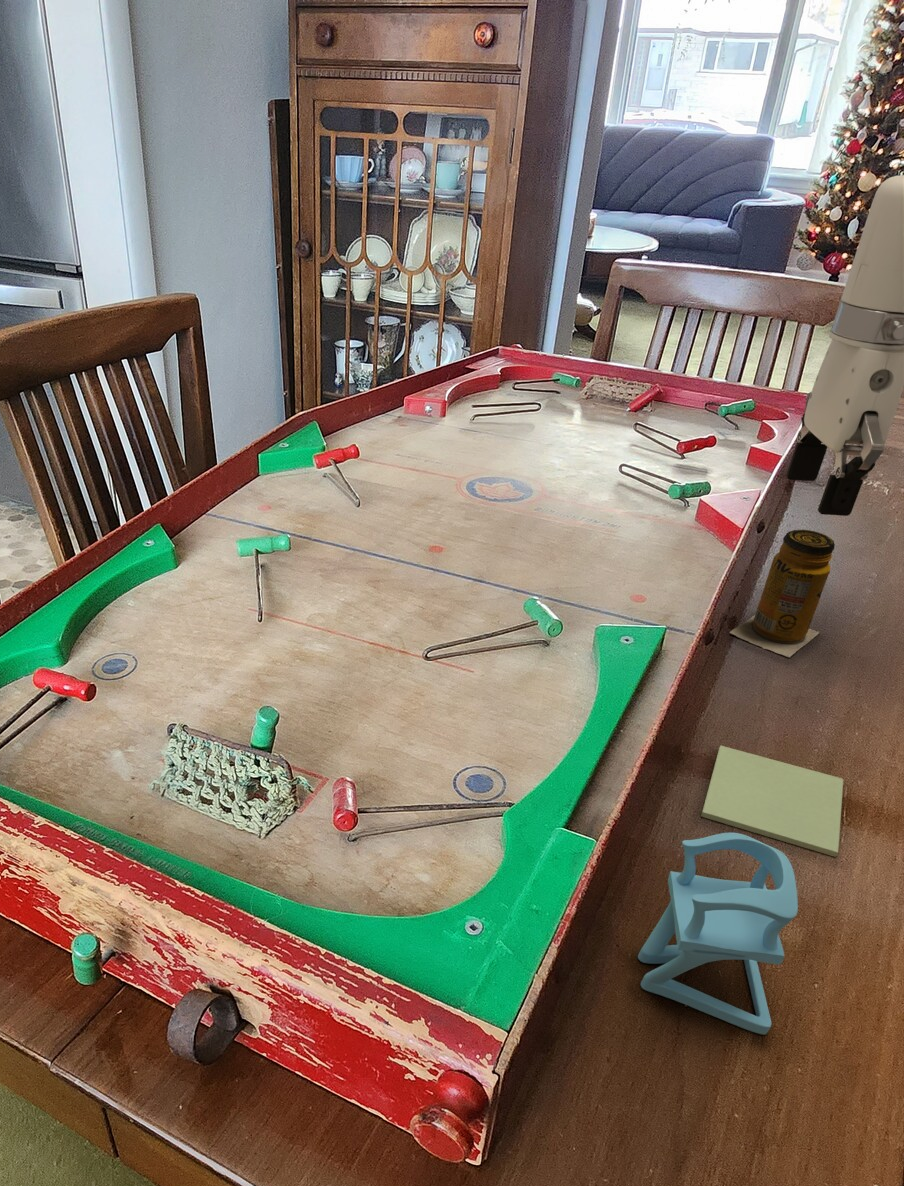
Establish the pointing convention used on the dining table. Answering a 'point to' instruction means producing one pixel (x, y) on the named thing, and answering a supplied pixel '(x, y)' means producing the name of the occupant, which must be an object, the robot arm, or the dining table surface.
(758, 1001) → the chair
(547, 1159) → the dining table surface
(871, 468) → the robot arm
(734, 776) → the mat
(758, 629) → the condiment
